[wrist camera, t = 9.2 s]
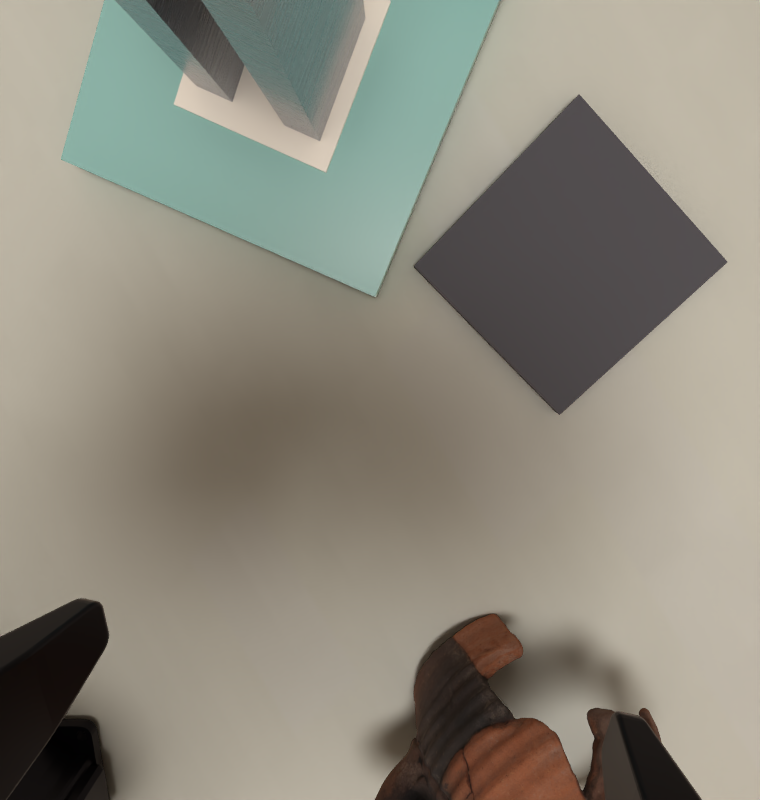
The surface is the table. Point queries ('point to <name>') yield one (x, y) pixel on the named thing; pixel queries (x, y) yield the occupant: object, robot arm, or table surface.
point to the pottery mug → (486, 732)
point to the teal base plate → (285, 136)
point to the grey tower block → (260, 48)
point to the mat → (570, 257)
